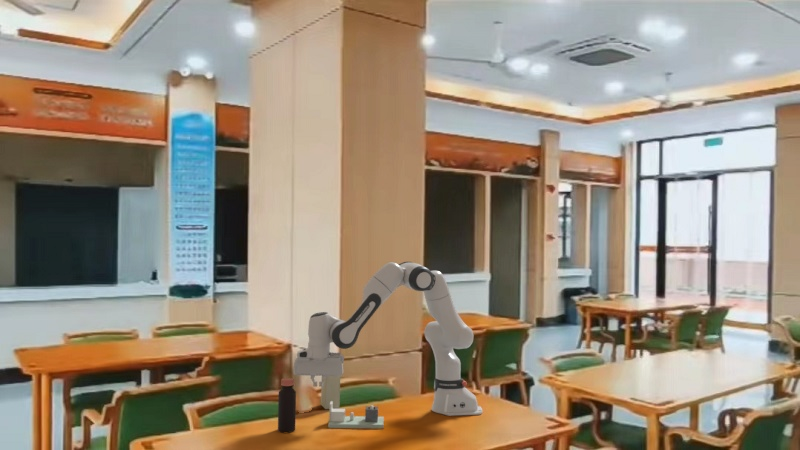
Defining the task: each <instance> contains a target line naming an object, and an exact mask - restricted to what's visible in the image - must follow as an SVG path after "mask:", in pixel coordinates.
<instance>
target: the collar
mask: <svg viewBox="0 0 800 450" xmlns="http://www.w3.org/2000/svg"><path fill="white" fill-rule="evenodd" d="M364 415H365V422H378V417H379V406H373V409H370V406H365V414H364Z"/></svg>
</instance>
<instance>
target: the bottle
mask: <svg viewBox="0 0 800 450" xmlns="http://www.w3.org/2000/svg"><path fill="white" fill-rule="evenodd" d="M294 381H295V380H294V378H292V377H286V378H285V377H284V378H281V379H280V386H281V389H280V390H279V391H278V407H277V408H278V409H277V431H278V432H279V431H280V433H284V432H288V433H292V432H294V431H296V418H297V417H296V414H297V413H296V411H297V409H296V408H297V406H296V405H297V392H296V390H295V389H294V384H295V382H294Z"/></svg>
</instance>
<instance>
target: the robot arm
mask: <svg viewBox="0 0 800 450" xmlns="http://www.w3.org/2000/svg"><path fill="white" fill-rule="evenodd" d="M401 286H404V287H405V288H408V289H411V290H414V291H417V292H423V295H424V298H425V302H426V305H427V309H428V312H429V315H430V316H431V317H432V318H433V319H434V320H435V321H430V322H428V323H427V324H426V325H425V328H424V332H423V333H424V337H425V340H426V341H427V342H428V344H429V346H430V347H431V349H432V352H433V356H434V361H435V377H434V381H433V382H434V383H433V390H434V394H433V395H434V396H433V402H432V406H431V411H432V412H434V413H436V414H441V415H445V416H447V417H449V416H450V417H451V416H452V417H454V416H474V415H478V416H479V415H482V414H483V413H484V412H483V408H482V406H481V405H478V400H477V397H476V395H475V394H474V393H473V392H472V391H470V390H469V389H468V388H466V387H467V385H468V384H467V381H465V379H463V378H462V377H461V371H462V370H461V367H462V366H461V365H462V363H461V360H460V358H459V357H458V356H457V354H456V353H455V351H454V349H456V350H463V349H468V348H470V347H471V345H472V344H473V342H474V336H475V335H474V331H473V329H472V328H471V327H469V326H468V325H467V324H466V323H465V322H464V321H463V318H461V316H460V315H459V313H458V312H457V310H456V307H455V305H454V302H453V298H452V295H451V291H450V289H449V286H448V283H447V281H446V278H445V277H444V274H443V273H442V272H441V271H439V270H436V269H435V270H430V269H429V268H428V267H425V266H423V265H422V264H419V263H418V262H416V263H415V262H412V261H403V262H401V263H396V262H393V261H391V262H390V261H389V262H387V263H385V264H384V265H383V266H382V267H381V268H379V269H377V271H376V272H375V273H374V274H373V275H372V277H371V278H370V279H368V281H367V282H366V284H365V286H364V287H363V290H362V293H363V294H362V301H361V303H360V305H359V306H358V308H357V309H356V310H355V311H354V312H353V314H352V315H351V316H350V317H349V318H348V319H347V320H346V321H345V320H343V319H339V318H337V317H335V316H333V315H332V314H330V313H329V312H327V311H323V312H321V311H319V312H315V313H314V314H312V315H310V318H309V321H308V328H307V329H308V333H307V335H308V343H307V347H306V348H302V349H299V350H298V351H297V353H296V358H295V359H294V363H293V370H292V371H293V375H294V376H310V379H311V381H312V386H313V387H320V388H321V387H323V382H324V380H325V378H326V376H340V377H342V375H343V374H344V363H345V356H344V354H343V353H341V352H332V351H331V352H330V349H331V347H330V346H331V343H333V344H334V345H335V346H336V347H337V348H339V349H342V350H343V349H345V350H346V349H347V350H348V349H349V348H351V347H353V346H354V345H355V344H356V343H357V341H358V338H359V334H360V333H361V331H362V329H363V328H364V327H365V325H366V324H367V323H368V322H369V320H370V319H371V317H372V316H373V315H374V314H375V313H376V312H377V310H378V309H379V308H380V307H381V306H382V305H383V304H384V303H385V302H386V301H387V300H388V299H389V298H390V297H391V296H392V294H393V293H394V292H395V291H396V290H397V289H398V288H399V287H401ZM315 376H321V381H316V380H315ZM322 378H323V380H322Z"/></svg>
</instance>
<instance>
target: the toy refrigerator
mask: <svg viewBox="0 0 800 450" xmlns="http://www.w3.org/2000/svg"><path fill="white" fill-rule="evenodd" d="M322 380H323V378H322V377H321V381H322ZM320 388H321V389H320V390H321V391H320V392H321V393H320V395H321V396H320V406H322V407H323V409H325V410H329V408H330V402H331V401H333V409H340V406H341V404H340V402H341V401H340V400H341V398H340V397H341V376H326V378H325V380H324V382H323V387H320Z"/></svg>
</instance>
